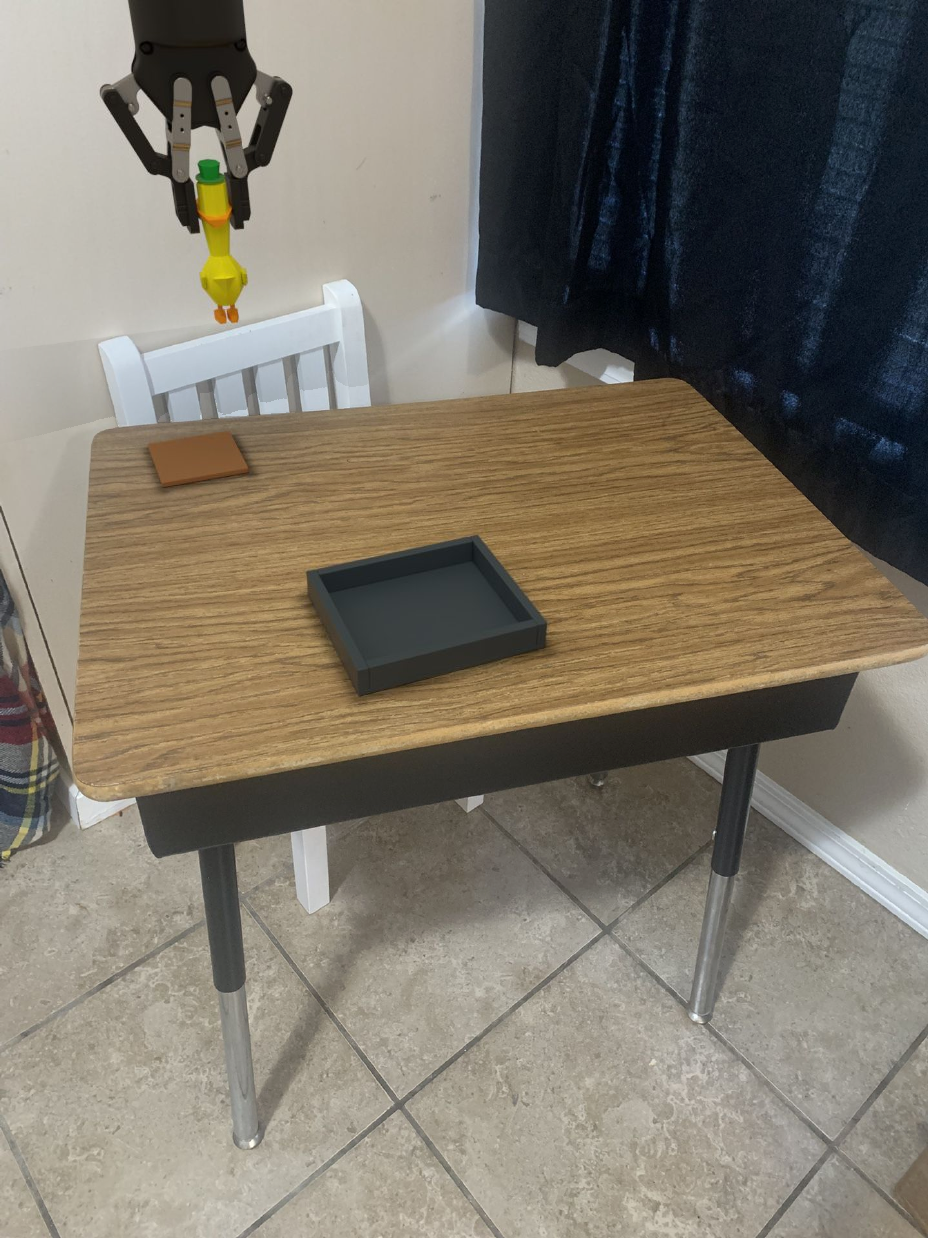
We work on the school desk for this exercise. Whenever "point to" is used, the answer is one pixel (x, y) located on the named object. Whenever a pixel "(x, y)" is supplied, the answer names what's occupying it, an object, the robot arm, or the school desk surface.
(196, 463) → the coaster
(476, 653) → the tray
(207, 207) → the toy figure
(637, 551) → the school desk surface
